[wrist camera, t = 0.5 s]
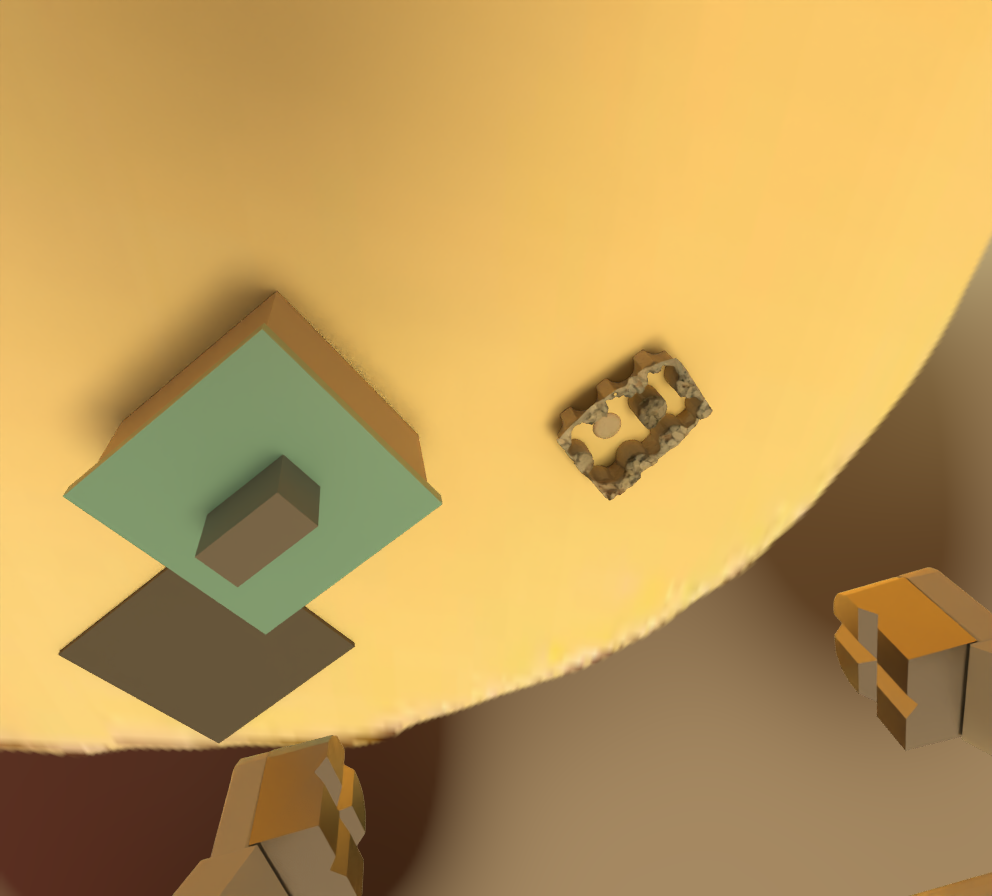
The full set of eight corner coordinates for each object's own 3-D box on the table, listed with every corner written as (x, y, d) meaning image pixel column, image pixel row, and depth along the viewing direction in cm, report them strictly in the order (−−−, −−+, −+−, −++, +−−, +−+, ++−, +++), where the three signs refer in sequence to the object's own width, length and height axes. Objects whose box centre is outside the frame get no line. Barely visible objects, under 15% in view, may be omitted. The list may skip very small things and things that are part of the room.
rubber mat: (60, 650, 54) (58, 654, 54) (207, 535, 52) (206, 538, 51) (219, 739, 62) (219, 743, 62) (354, 643, 60) (354, 646, 59)
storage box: (121, 422, 46) (82, 487, 39) (276, 290, 44) (264, 335, 37) (277, 543, 53) (267, 615, 46) (418, 435, 51) (429, 494, 44)
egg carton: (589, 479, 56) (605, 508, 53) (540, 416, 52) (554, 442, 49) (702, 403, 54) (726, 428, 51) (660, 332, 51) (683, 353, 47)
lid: (76, 475, 40) (35, 540, 35) (266, 315, 38) (253, 358, 32) (268, 611, 48) (259, 681, 42) (438, 485, 45) (450, 543, 40)
